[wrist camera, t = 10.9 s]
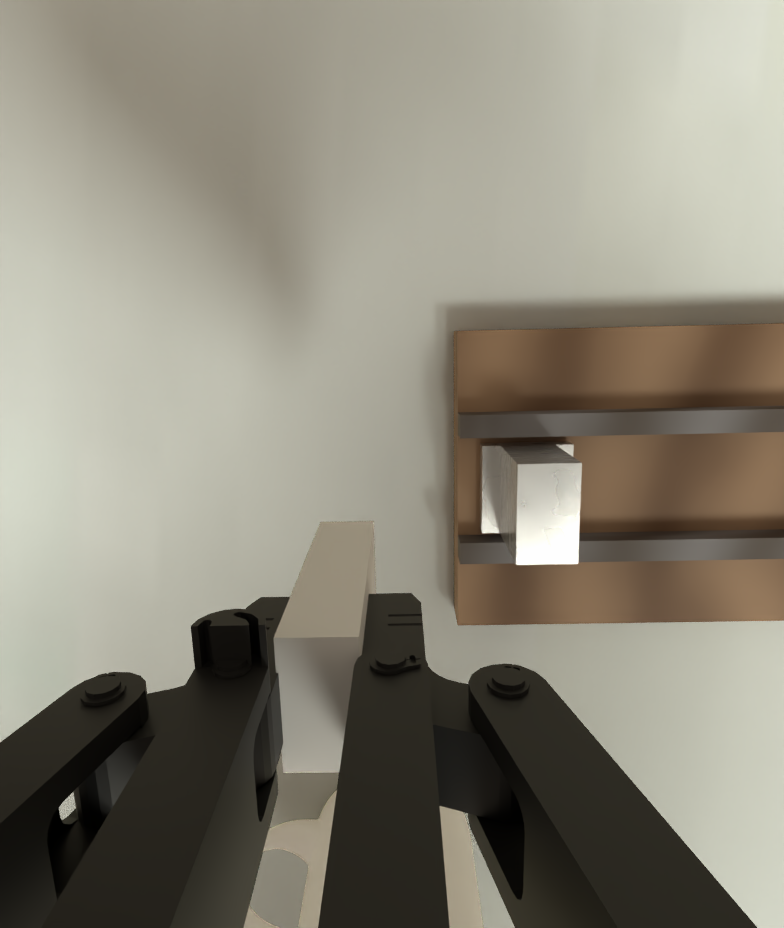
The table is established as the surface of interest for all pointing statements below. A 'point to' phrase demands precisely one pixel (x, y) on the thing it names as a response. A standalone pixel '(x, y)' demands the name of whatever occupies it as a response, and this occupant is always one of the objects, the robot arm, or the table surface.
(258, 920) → the mug
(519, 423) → the control board
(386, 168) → the table surface
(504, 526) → the slide knob
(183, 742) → the robot arm
